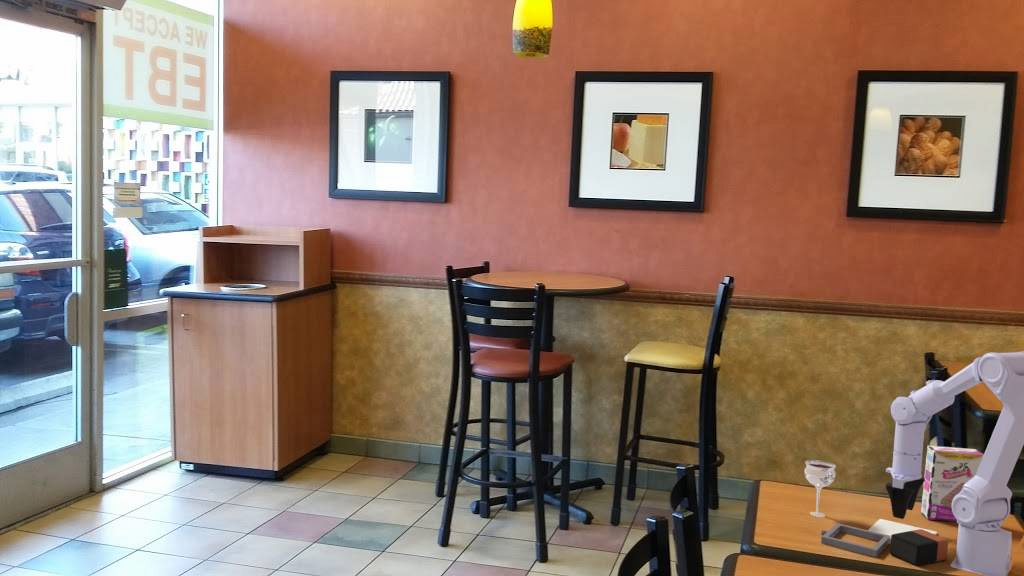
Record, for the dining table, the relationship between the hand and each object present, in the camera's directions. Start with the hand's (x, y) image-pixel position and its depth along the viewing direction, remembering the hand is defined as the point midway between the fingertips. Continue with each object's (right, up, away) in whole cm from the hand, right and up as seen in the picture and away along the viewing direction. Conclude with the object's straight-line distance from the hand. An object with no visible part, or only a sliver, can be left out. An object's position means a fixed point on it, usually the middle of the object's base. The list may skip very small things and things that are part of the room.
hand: (902, 513), depth 192 cm
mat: (0, -5, 0) cm, 5 cm away
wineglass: (-15, -3, +10) cm, 19 cm away
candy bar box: (+16, -5, +12) cm, 21 cm away
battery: (-7, -3, -15) cm, 17 cm away
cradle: (-13, -5, -6) cm, 15 cm away
